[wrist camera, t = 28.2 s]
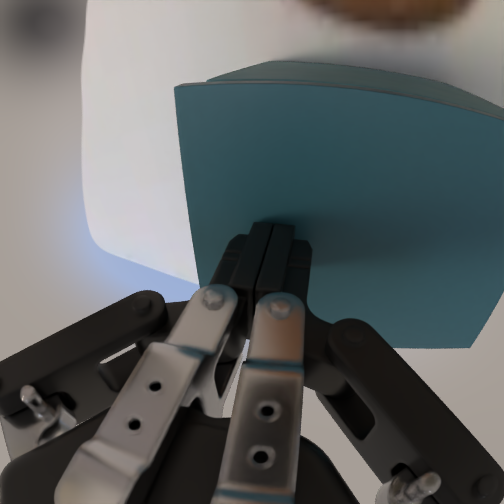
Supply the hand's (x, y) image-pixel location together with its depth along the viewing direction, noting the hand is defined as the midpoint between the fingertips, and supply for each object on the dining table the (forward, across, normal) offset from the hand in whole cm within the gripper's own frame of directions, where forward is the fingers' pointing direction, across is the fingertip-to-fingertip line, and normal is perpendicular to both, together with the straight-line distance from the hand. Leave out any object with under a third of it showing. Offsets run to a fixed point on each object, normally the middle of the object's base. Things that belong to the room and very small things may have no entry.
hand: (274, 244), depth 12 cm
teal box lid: (+1, -4, 0) cm, 4 cm away
